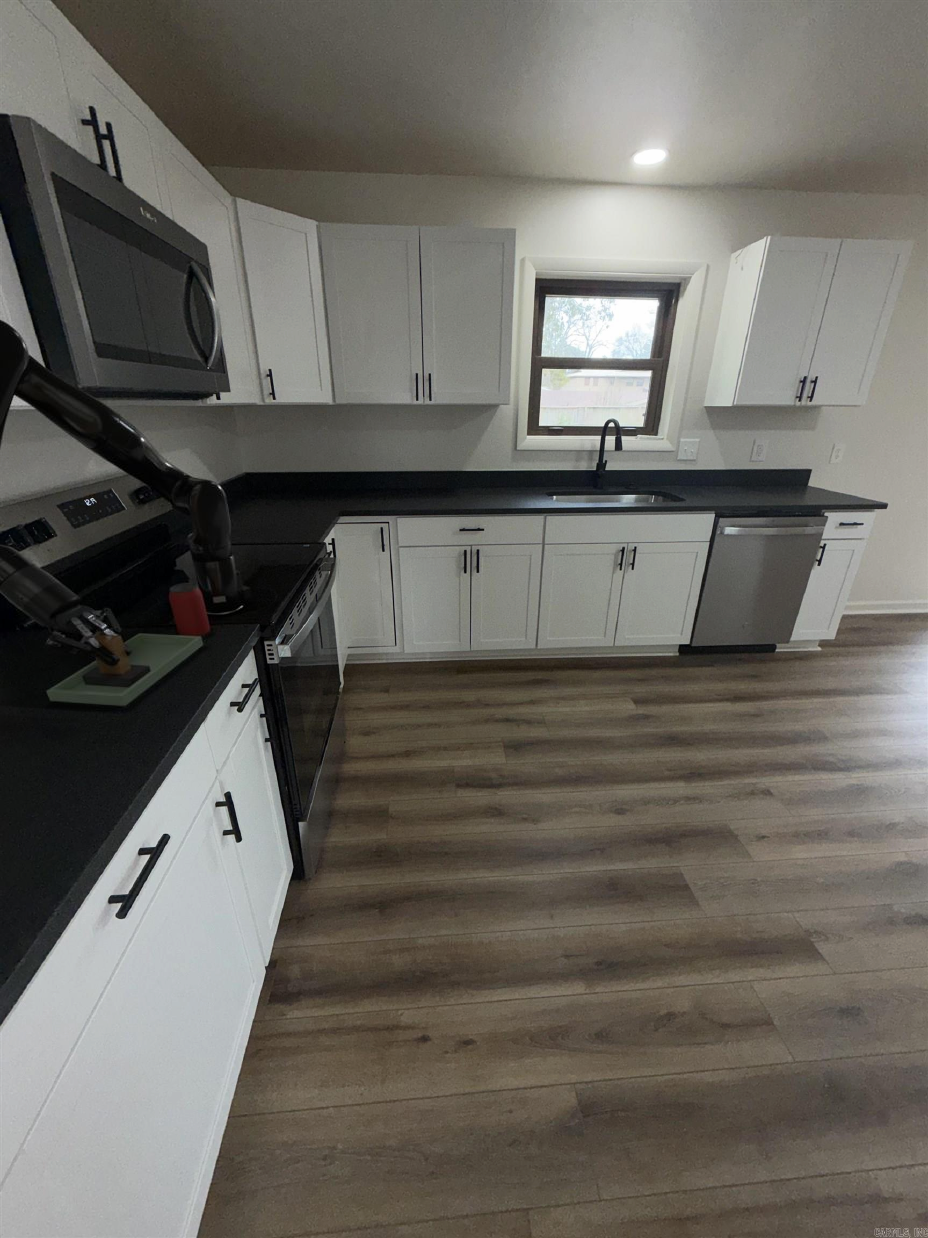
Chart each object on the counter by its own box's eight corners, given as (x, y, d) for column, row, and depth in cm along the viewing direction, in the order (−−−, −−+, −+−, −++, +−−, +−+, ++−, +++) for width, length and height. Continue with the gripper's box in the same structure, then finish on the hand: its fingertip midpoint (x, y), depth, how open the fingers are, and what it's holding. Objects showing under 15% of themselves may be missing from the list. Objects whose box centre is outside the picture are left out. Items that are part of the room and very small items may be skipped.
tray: (142, 645, 111) (139, 633, 109) (204, 648, 109) (201, 636, 108) (51, 705, 89) (45, 691, 88) (126, 710, 88) (121, 696, 87)
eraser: (85, 684, 94) (69, 642, 90) (105, 671, 98) (91, 630, 94) (133, 688, 93) (120, 645, 89) (152, 674, 97) (139, 633, 93)
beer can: (198, 642, 112) (186, 593, 107) (173, 640, 113) (159, 591, 108) (217, 630, 117) (206, 582, 113) (192, 627, 119) (181, 580, 114)
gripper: (13, 597, 82) (103, 666, 86) (81, 570, 94) (157, 631, 98) (-4, 625, 84) (84, 690, 88) (65, 595, 97) (139, 653, 101)
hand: (122, 659), depth 93 cm, fingers closed on eraser, 2 cm apart
